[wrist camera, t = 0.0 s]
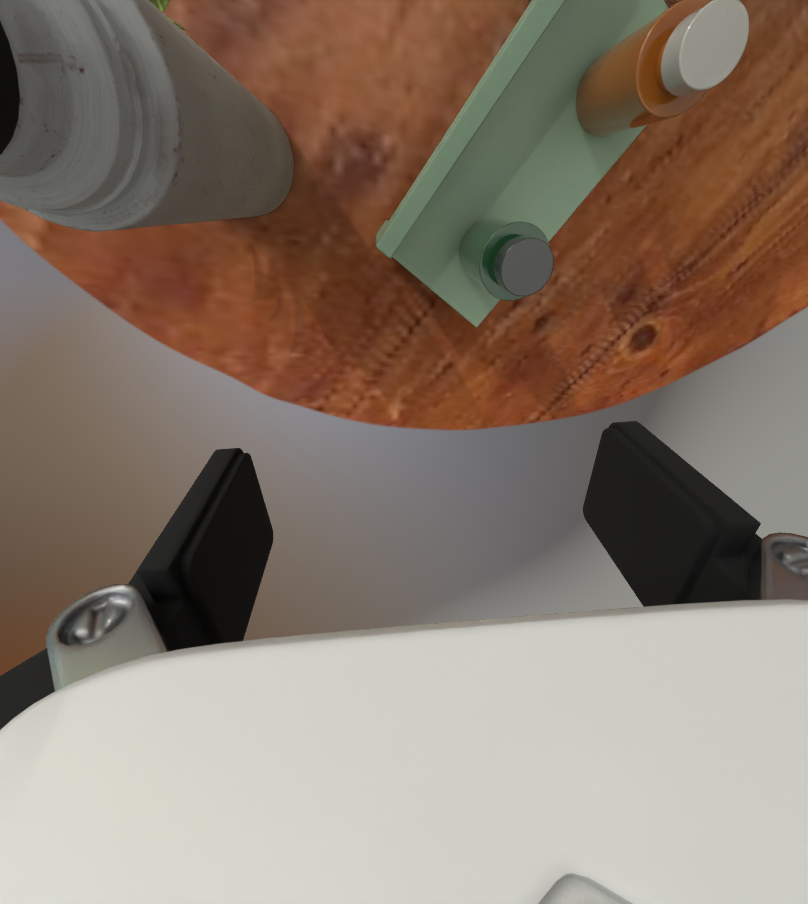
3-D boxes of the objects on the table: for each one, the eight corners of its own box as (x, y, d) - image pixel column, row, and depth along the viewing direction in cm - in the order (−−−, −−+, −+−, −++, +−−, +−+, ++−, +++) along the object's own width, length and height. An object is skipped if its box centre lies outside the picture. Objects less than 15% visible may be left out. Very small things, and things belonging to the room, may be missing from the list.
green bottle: (486, 203, 27) (529, 203, 20) (527, 245, 29) (582, 260, 21) (446, 257, 29) (472, 276, 21) (487, 294, 30) (525, 323, 23)
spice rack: (544, -28, 27) (635, -153, 18) (629, 92, 31) (742, 42, 21) (375, 235, 35) (375, 246, 25) (459, 306, 39) (486, 339, 29)
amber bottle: (617, 27, 23) (736, -61, 15) (656, 87, 24) (783, 34, 17) (561, 102, 25) (645, 55, 17) (602, 153, 26) (695, 132, 19)
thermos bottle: (191, 202, 33) (-287, 195, 9) (187, 76, 29) (-696, -528, 5) (289, 227, 34) (95, 279, 10) (298, 110, 30) (17, -235, 6)
